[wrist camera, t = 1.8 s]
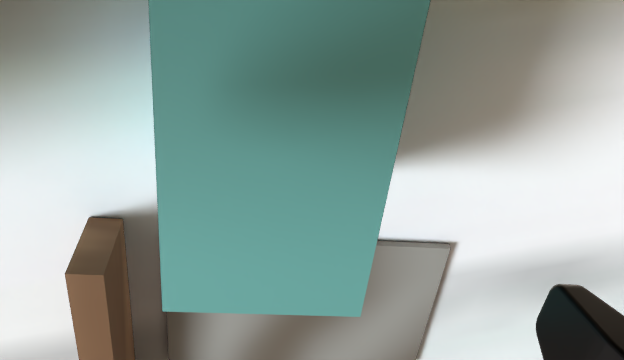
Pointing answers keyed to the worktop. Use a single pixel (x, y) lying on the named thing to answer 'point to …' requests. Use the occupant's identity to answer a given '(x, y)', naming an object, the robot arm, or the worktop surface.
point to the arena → (256, 327)
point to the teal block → (276, 148)
